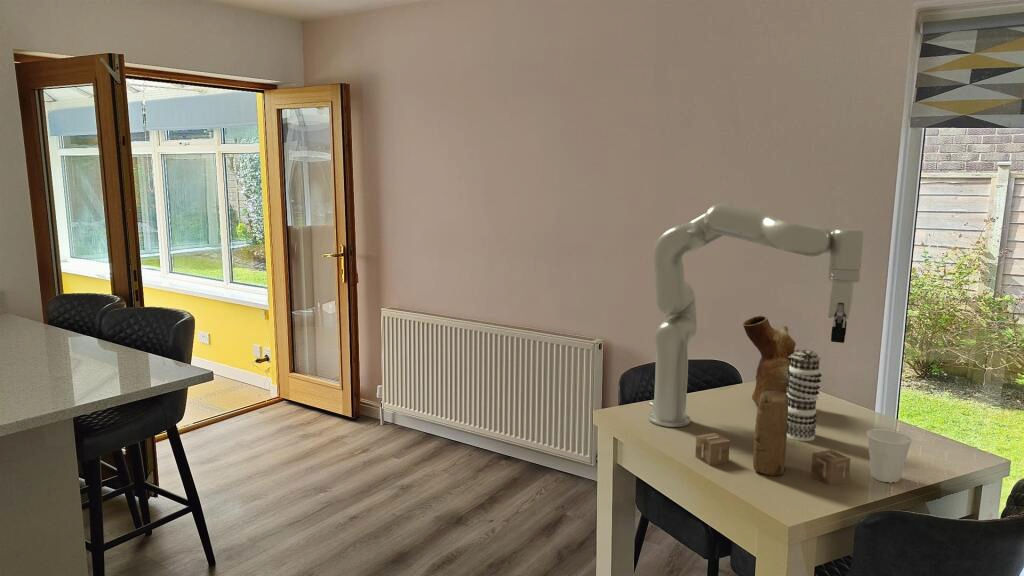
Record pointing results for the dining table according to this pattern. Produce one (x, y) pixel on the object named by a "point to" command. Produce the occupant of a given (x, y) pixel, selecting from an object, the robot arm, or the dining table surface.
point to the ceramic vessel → (770, 355)
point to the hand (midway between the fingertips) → (838, 338)
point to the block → (771, 433)
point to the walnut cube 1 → (712, 449)
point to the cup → (887, 454)
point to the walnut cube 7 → (830, 467)
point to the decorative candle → (802, 394)
